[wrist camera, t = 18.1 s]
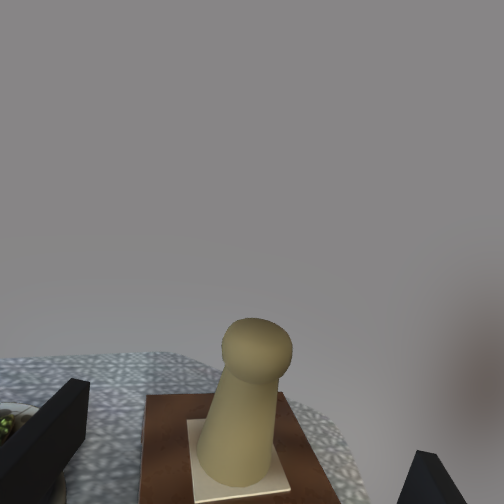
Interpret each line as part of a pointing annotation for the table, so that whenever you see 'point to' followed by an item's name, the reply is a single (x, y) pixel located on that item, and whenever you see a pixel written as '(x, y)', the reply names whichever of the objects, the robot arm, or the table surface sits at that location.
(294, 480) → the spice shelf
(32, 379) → the table surface
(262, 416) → the cork
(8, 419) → the salad plate
